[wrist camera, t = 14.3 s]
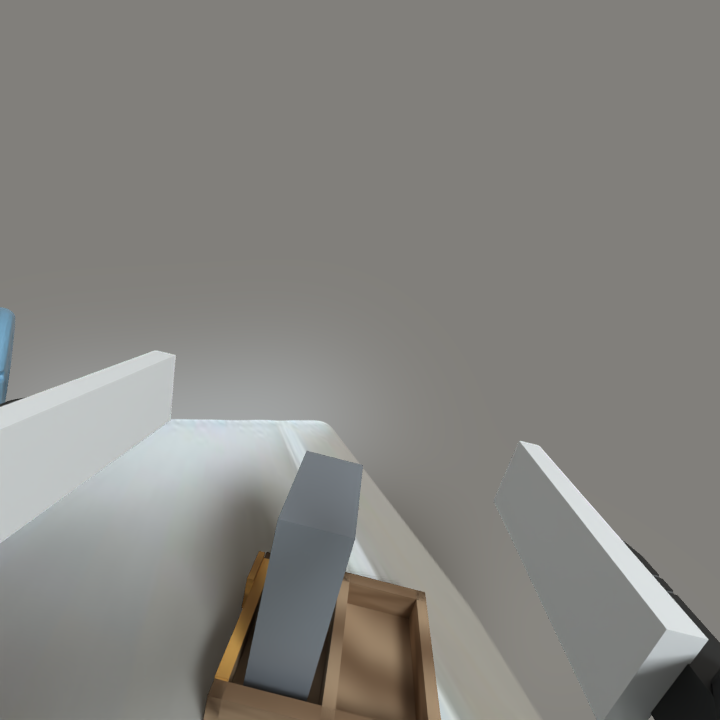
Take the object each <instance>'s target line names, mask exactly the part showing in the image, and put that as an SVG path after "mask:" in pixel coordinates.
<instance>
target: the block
mask: <svg viewBox="0 0 720 720" xmlns="http://www.w3.org/2000/svg"><path fill="white" fill-rule="evenodd" d="M362 469H363V465H360V464H356V463H352V462H348V461H345V460H341V459H337V458H333V457H329V456H325V455H321V454H317V453H313V452H309V451H306V454H305V456H304V458H303V461H302V463H301V466H300V468H299V470H298V473H297V475H296V477H295V480H294V482H293V484H292V487H291V489H290V492H289V494H288V496H287V499H286V501H285V503H284V506H283V508H282V511H281V513H280V515H279V518H278V521H277V526H276V531H275V535H274V540H273V545H272V550H271V555H270V559H269V564H268V569H267V574H266V578H265V583H264V588H263V593H262V598H261V602H260V607H259V612H258V617H257V621H256V626H255V631H254V636H253V641H252V645H251V650H250V655H249V660H248V664H247V669H246V674H245V679H244V683H243V686H247V687H251V688H255V689H259V690H262V691H266V692H270V693H274V694H278V695H282V696H286V697H290V698H294V699H297V700H301V701H305V702H307V698H308V695H309V692H310V688H311V685H312V681H313V678H314V675H315V671H316V668H317V665H318V661H319V658H320V655H321V651H322V648H323V645H324V641H325V638H326V634H327V631H328V628H329V624H330V621H331V618H332V614H333V611H334V608H335V604H336V601H337V597H338V594H339V591H340V587H341V584H342V581H343V577H344V574H345V571H346V567H347V564H348V561H349V557H350V554H351V550H352V547H353V544H354V540H355V534H356V525H357V516H358V506H359V497H360V488H361V479H362Z"/></svg>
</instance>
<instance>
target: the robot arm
mask: <svg viewBox="0 0 720 720" xmlns="http://www.w3.org/2000/svg"><path fill="white" fill-rule="evenodd" d="M14 330H15V316H14V313H13V312H12V311H10V310H8V309H6V308H1V307H0V543H1V542H3V541H4V540H6V539H7V538H8V537H10V536H11V535H13V534H14V533H15V532H17V531H18V530H19V529H21V528H22V527H24V526H25V525H26V524H28V523H29V522H31V521H32V520H33V519H35V518H36V517H38V516H39V515H40V514H42V513H43V512H44V511H46V510H47V509H49V508H50V507H51V506H53V505H54V504H56V503H57V502H58V501H60V500H61V499H62V498H64V497H65V496H67V495H68V494H69V493H71V492H72V491H74V490H75V489H76V488H78V487H79V486H80V485H82V484H83V483H85V482H86V481H87V480H89V479H90V478H92V477H93V476H94V475H96V474H97V473H99V472H100V471H101V470H103V469H104V468H105V467H107V466H108V465H110V464H111V463H112V462H114V461H115V460H117V459H118V458H119V457H121V456H122V455H123V454H125V453H126V452H128V451H129V450H130V449H132V448H133V447H135V446H136V445H137V444H139V443H140V442H141V441H143V440H144V439H146V438H147V437H148V436H150V435H151V434H153V433H154V432H155V431H157V430H158V429H159V428H161V427H162V426H164V425H165V424H166V423H168V422H169V421H170V419H171V407H172V394H173V381H174V370H175V357H176V356H175V355H173V354H169V353H164V352H160V351H157V350H155V351H152V352H149V353H147V354H144V355H141V356H138V357H136V358H133V359H131V360H127V361H125V362H122V363H119V364H117V365H114V366H111V367H109V368H106V369H103V370H100V371H97V372H95V373H92V374H89V375H86V376H84V377H81V378H78V379H75V380H73V381H70V382H67V383H65V384H62V385H59V386H56V387H54V388H51V389H48V390H45V391H43V392H40V393H37V394H34V395H32V396H29V397H26V398H20V399H15V400H11V401H7V402H5V399H6V393H7V386H8V380H9V373H10V365H11V357H12V349H13V339H14ZM494 503H495V505H496V507H497V510H498V512H499V514H500V516H501V518H502V520H503V522H504V524H505V526H506V529H507V531H508V533H509V535H510V537H511V539H512V541H513V543H514V546H515V548H516V550H517V552H518V554H519V556H520V558H521V560H522V563H523V565H524V567H525V569H526V571H527V573H528V575H529V577H530V580H531V582H532V584H533V586H534V588H535V590H536V592H537V594H538V597H539V599H540V601H541V603H542V605H543V607H544V609H545V611H546V614H547V616H548V618H549V620H550V622H551V624H552V626H553V628H554V630H555V632H556V635H557V637H558V639H559V641H560V643H561V645H562V647H563V650H564V652H565V654H566V656H567V658H568V660H569V662H570V664H571V666H572V669H573V671H574V673H575V675H576V677H577V679H578V681H579V683H580V686H581V688H582V690H583V692H584V694H585V696H586V698H587V701H588V703H589V705H590V707H591V709H592V711H593V713H594V715H595V717H596V720H648V719H649V718H650V716H651V715H652V716H653V718H654V719H655V720H720V642H718V640H717V639H716V638H715V637H714V636H713V635H712V634H711V632H710V631H709V630H708V629H707V628H706V627H705V626H704V625H703V624H702V622H701V621H700V620H699V619H698V618H697V617H696V616H695V615H694V614H693V612H692V611H691V610H690V609H689V608H688V607H687V606H686V605H685V603H684V602H683V601H682V600H681V599H680V598H679V597H678V596H677V595H674V594H673V590H672V589H671V588H670V587H669V586H668V584H667V583H666V582H665V581H664V580H663V579H661V578H659V575H658V573H657V572H656V571H655V570H654V569H653V568H652V567H651V566H650V564H648V562H647V561H646V560H645V559H644V558H643V557H642V556H641V555H640V554H639V553H637V552H636V551H635V550H634V549H633V548H631V547H630V546H629V545H628V544H627V543H625V542H624V541H623V540H622V539H620V538H619V536H618V535H617V534H616V533H615V532H614V531H613V530H612V529H611V527H610V526H609V525H608V524H607V523H606V522H605V520H604V519H603V518H602V517H601V516H600V515H599V514H598V512H597V511H596V510H595V509H594V508H593V507H592V506H591V504H590V503H589V502H588V501H587V500H586V499H585V497H584V496H583V495H582V494H581V493H580V492H579V491H578V489H577V488H576V487H575V486H574V485H573V484H572V483H571V482H570V480H569V479H568V478H567V477H566V476H565V475H564V473H563V472H562V471H561V470H560V469H559V468H558V467H557V465H556V464H555V463H554V462H553V461H552V460H551V459H550V457H549V456H548V455H547V454H546V453H545V452H544V451H543V449H542V448H541V447H540V446H539V445H534V444H531V443H527V442H523V441H519V442H518V444H517V447H516V449H515V452H514V454H513V456H512V459H511V461H510V463H509V466H508V468H507V470H506V473H505V475H504V477H503V480H502V482H501V485H500V487H499V489H498V492H497V494H496V497H495V499H494Z"/></svg>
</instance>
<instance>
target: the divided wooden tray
mask: <svg viewBox="0 0 720 720" xmlns="http://www.w3.org/2000/svg"><path fill="white" fill-rule="evenodd" d="M264 555H265V552H261V551H259V553H258V555H257V557H256V559H255V562H254V564H253V566H252V568H251V571H250V573H249V575H248V577H247V582H246V587H245V593H244V598H243V603H242V608H243V609H242V612H241V614H240V617H239V619H238V621H237V624H236V626H235V629H234V631H233V634H232V636H231V638H230V641H229V643H228V646H227V648H226V650H225V653H224V655H223V658H222V660H221V662H220V665H219V667H218V670H217V672H216V675H215V679H214V681H213V683H212V686H211V688H210V691H209V693H208V696H207V702H206V708H205V714H204V720H441V717H440V709H439V701H438V693H437V685H436V677H435V669H434V661H433V653H432V645H431V637H430V629H429V621H428V613H427V605H426V597H425V592H421V591H418V590H414V589H410V588H406V587H402V586H398V585H394V584H390V583H386V582H382V581H378V580H375V579H371V578H367V577H363V576H359V575H355V574H351V573H347V572H345V574H344V577H343V581H342V584H341V587H340V591H339V594H338V597H337V601H336V604H335V608H334V611H333V614H332V618H331V621H330V624H329V628H328V631H327V634H326V638H325V641H324V645H323V648H322V651H321V655H320V658H319V661H318V665H317V668H316V671H315V675H314V678H313V681H312V685H311V688H310V692H309V695H308V698H307V702H305V701H301V700H297V699H294V698H290V697H286V696H282V695H278V694H274V693H270V692H266V691H262V690H259V689H255V688H251V687H247V686H243V683H244V679H245V674H246V669H247V664H248V660H249V655H250V650H251V645H252V641H253V636H254V631H255V626H256V621H257V617H258V612H259V607H260V602H261V598H262V593H263V588H264V583H265V578H266V574H267V569H268V564H269V559H270V555H271V553H269V552H267V553H266V555H265V557H264Z"/></svg>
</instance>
